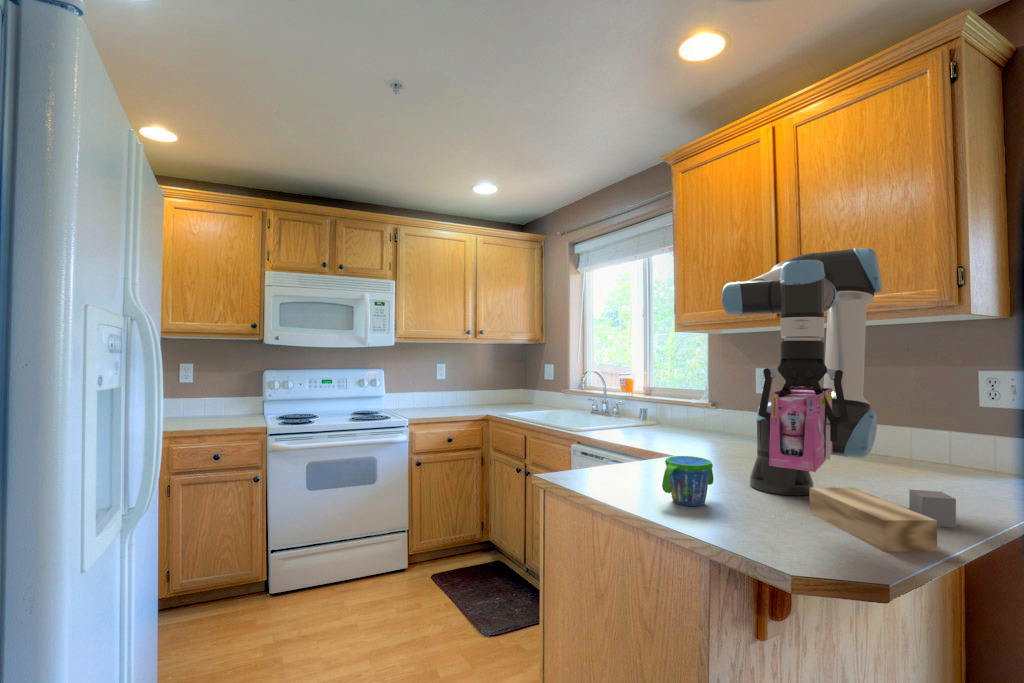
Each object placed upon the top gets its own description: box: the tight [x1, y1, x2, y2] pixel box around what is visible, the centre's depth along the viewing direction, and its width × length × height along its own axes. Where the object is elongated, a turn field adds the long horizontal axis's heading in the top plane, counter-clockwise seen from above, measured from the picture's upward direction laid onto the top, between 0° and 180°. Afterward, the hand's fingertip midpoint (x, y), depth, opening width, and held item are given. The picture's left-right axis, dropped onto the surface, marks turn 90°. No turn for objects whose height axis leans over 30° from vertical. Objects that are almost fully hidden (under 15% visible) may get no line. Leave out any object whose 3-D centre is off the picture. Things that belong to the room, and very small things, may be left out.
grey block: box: [908, 489, 957, 528], centre depth 114 cm, size 6×6×6 cm
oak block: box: [809, 487, 938, 552], centre depth 109 cm, size 10×23×6 cm, turn 2°
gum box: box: [769, 386, 832, 473], centre depth 104 cm, size 24×8×14 cm, turn 143°
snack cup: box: [661, 455, 714, 507], centre depth 127 cm, size 16×10×10 cm
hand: (802, 455), depth 104 cm, fingers closed on gum box, 8 cm apart
